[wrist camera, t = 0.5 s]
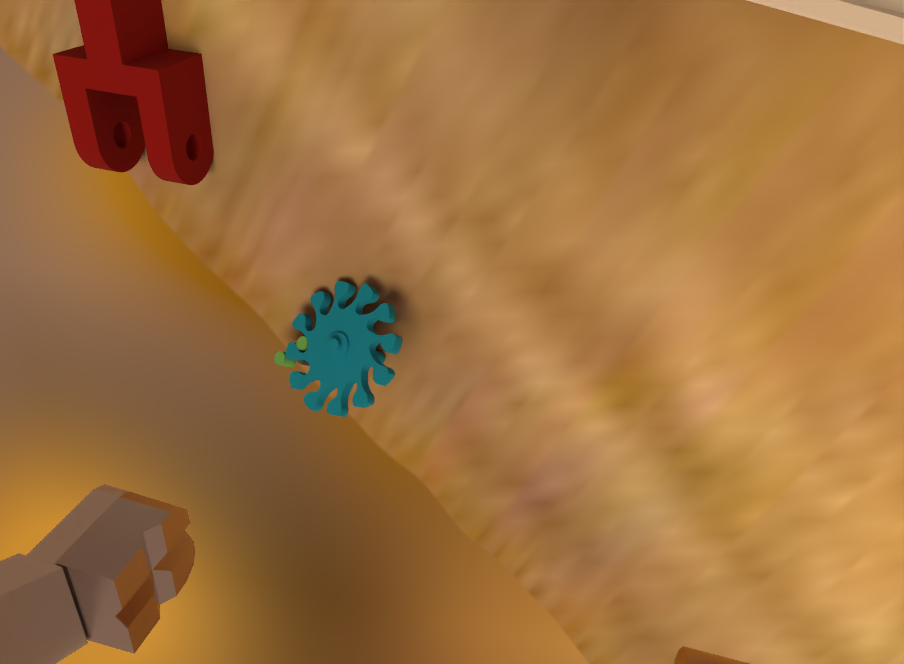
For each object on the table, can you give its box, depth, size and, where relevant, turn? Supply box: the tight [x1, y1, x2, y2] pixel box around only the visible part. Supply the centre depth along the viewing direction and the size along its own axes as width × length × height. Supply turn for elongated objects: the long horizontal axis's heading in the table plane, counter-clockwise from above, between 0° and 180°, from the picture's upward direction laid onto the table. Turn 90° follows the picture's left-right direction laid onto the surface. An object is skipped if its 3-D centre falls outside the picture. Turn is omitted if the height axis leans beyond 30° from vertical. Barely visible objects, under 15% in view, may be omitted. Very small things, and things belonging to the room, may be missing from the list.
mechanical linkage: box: [53, 0, 214, 185], centre depth 43 cm, size 16×7×5 cm, turn 175°
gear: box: [274, 281, 402, 417], centre depth 52 cm, size 11×6×10 cm
